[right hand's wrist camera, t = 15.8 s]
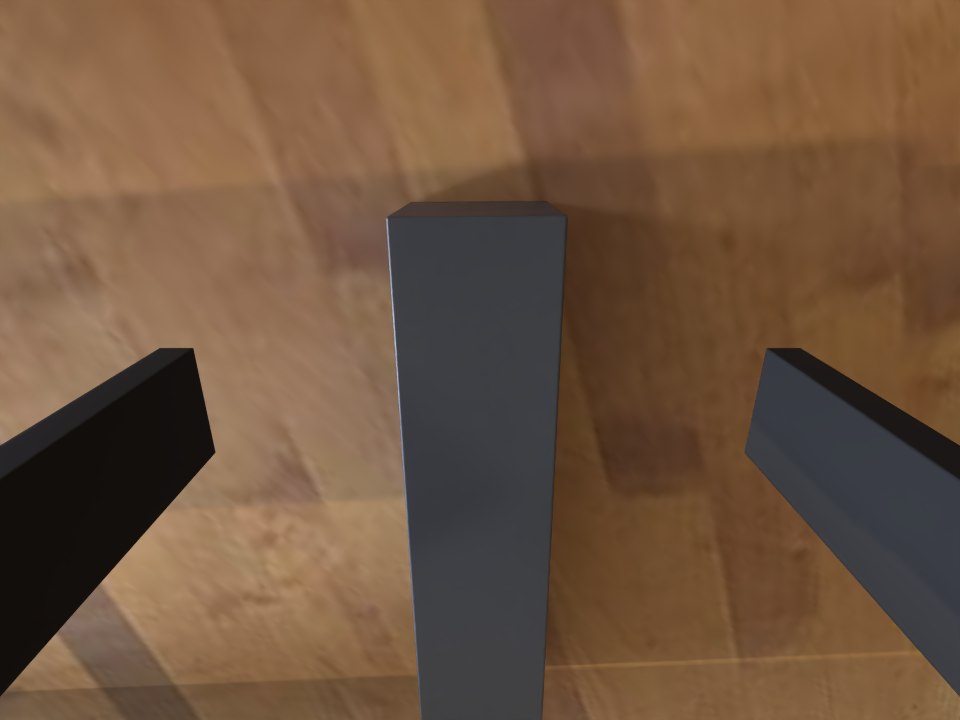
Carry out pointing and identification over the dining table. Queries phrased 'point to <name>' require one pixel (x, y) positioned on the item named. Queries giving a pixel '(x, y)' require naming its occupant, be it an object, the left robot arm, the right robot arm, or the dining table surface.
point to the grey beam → (478, 444)
